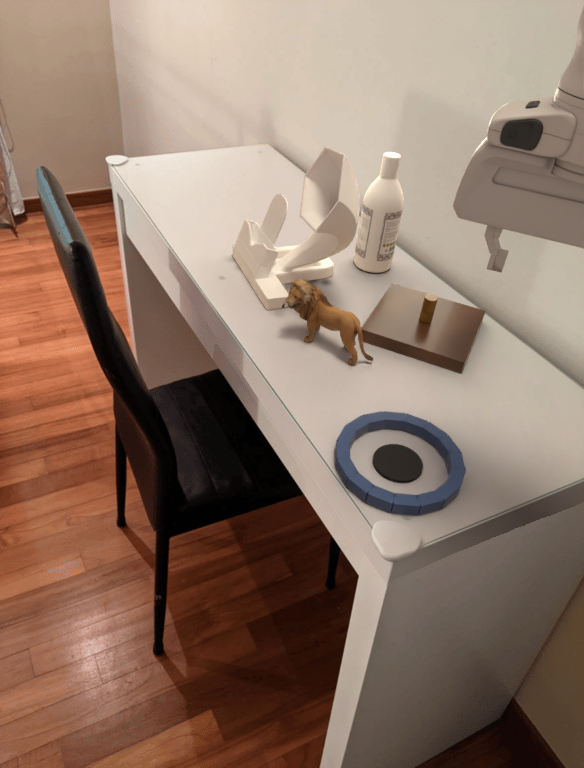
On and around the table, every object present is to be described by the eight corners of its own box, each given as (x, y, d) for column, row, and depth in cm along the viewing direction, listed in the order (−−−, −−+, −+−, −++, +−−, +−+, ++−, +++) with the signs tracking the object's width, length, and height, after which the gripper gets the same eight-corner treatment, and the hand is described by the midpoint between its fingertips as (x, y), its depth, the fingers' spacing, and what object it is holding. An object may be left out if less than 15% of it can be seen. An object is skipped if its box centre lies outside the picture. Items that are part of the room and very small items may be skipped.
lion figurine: (276, 336, 92) (281, 284, 86) (294, 320, 95) (299, 269, 90) (365, 372, 87) (375, 319, 81) (380, 353, 90) (391, 302, 85)
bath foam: (394, 260, 114) (417, 152, 101) (386, 277, 108) (409, 165, 96) (358, 252, 115) (376, 144, 102) (348, 268, 110) (366, 156, 97)
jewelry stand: (232, 255, 110) (235, 109, 94) (311, 246, 115) (327, 107, 99) (280, 332, 93) (295, 169, 77) (371, 318, 98) (402, 163, 82)
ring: (472, 446, 77) (476, 437, 76) (444, 535, 66) (447, 525, 65) (359, 406, 81) (361, 397, 80) (315, 482, 70) (316, 473, 69)
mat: (427, 456, 75) (428, 454, 74) (414, 490, 70) (415, 487, 70) (381, 439, 76) (382, 437, 76) (365, 471, 72) (366, 468, 72)
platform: (482, 321, 100) (493, 289, 96) (461, 373, 88) (472, 339, 85) (389, 293, 104) (396, 261, 101) (358, 339, 93) (364, 306, 89)
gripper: (736, 148, 49) (659, 296, 58) (485, 101, 55) (448, 243, 64) (747, 171, 45) (661, 328, 53) (471, 118, 50) (434, 267, 59)
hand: (543, 281), depth 59 cm, fingers open, 8 cm apart
